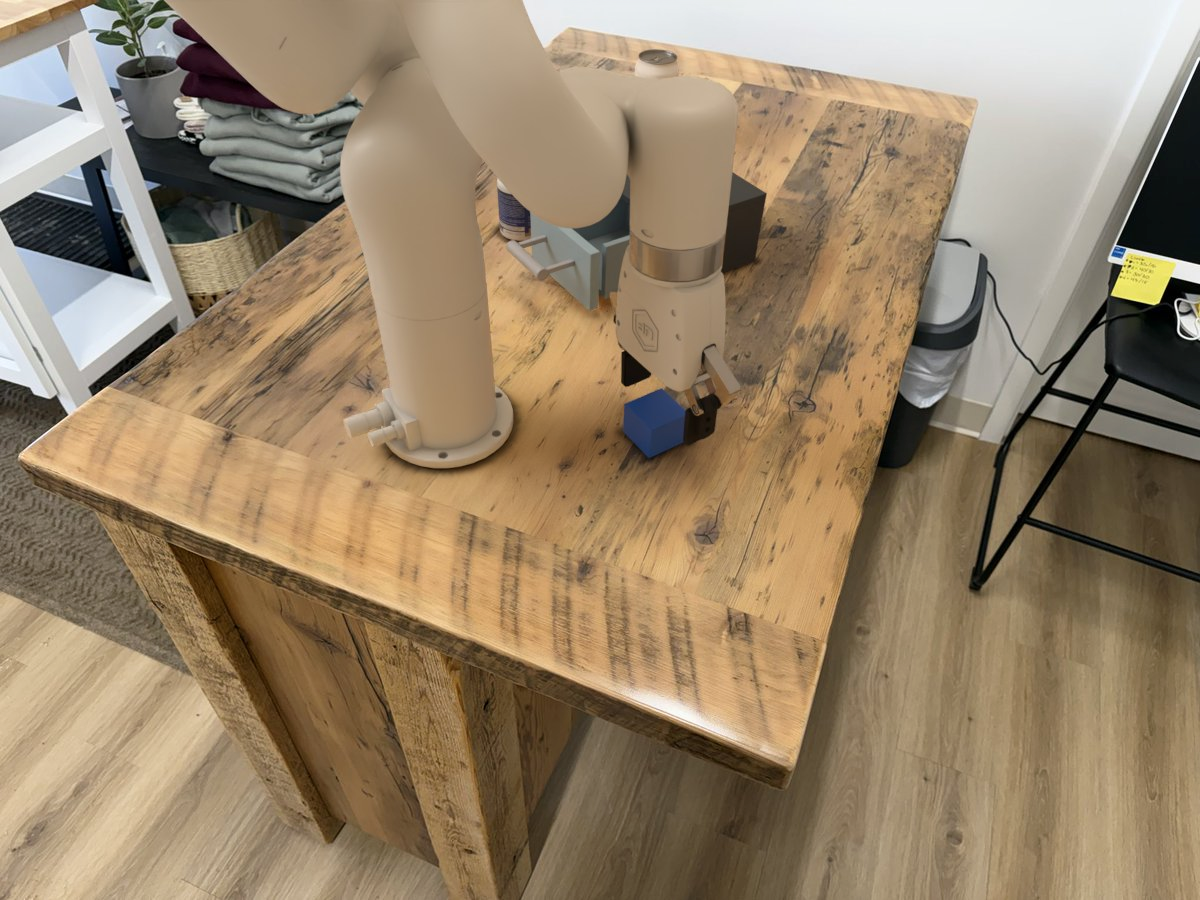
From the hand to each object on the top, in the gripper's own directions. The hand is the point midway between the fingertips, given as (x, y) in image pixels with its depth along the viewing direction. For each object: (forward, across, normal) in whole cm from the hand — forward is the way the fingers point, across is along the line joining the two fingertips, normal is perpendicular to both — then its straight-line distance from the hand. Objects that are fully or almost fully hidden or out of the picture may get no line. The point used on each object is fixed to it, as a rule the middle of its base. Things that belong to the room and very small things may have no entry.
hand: (666, 408), depth 78 cm
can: (+4, -55, +38) cm, 67 cm away
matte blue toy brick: (+4, -1, -1) cm, 4 cm away
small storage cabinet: (+4, -27, +21) cm, 34 cm away
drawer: (+2, -27, +9) cm, 28 cm away
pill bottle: (+3, -41, +7) cm, 41 cm away
